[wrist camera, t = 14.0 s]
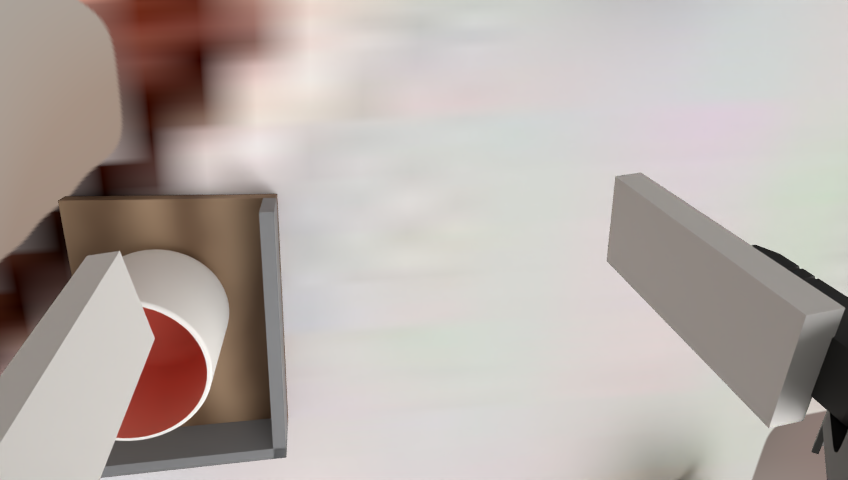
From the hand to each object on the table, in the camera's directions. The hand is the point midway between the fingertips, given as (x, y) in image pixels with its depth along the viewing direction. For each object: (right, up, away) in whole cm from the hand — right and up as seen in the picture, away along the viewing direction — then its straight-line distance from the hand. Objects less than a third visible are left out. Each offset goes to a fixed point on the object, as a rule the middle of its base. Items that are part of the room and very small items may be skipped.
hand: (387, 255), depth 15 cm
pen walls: (-18, -7, +29) cm, 35 cm away
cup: (-19, -5, +28) cm, 34 cm away
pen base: (-18, -6, +30) cm, 36 cm away
